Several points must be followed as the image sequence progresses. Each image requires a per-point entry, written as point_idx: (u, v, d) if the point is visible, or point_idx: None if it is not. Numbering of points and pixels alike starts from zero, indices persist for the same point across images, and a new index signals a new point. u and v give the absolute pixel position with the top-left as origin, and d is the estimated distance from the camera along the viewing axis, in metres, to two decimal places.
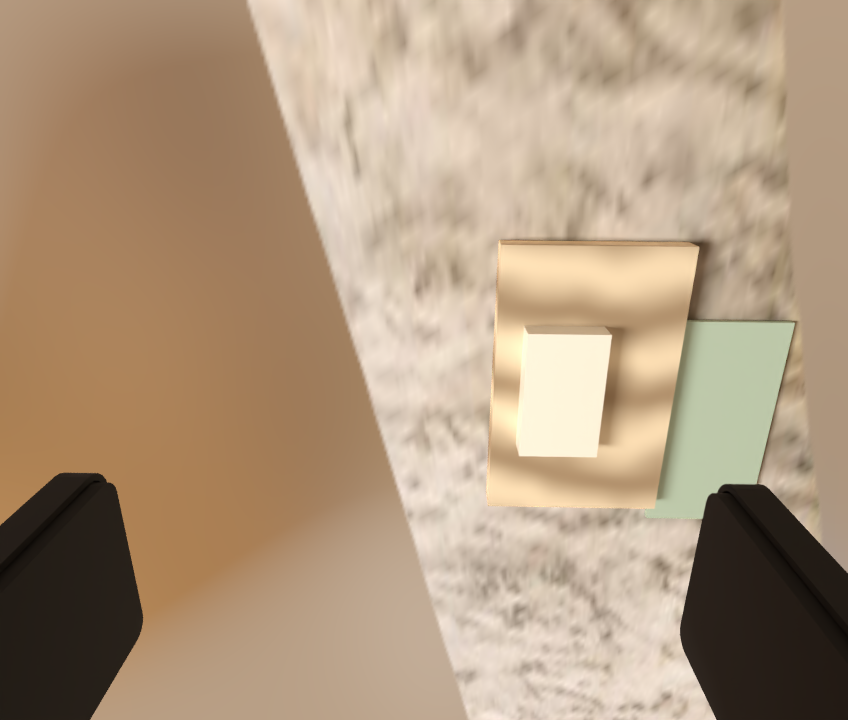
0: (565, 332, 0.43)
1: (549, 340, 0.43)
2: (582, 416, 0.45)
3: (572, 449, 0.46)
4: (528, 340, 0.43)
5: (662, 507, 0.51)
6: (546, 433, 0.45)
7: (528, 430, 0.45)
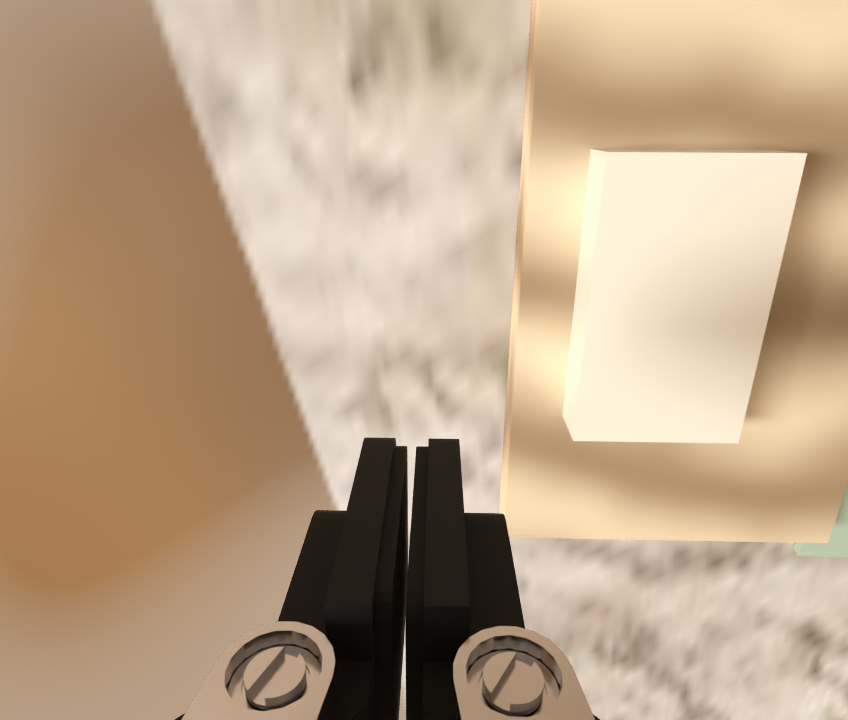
0: (693, 151, 0.18)
1: (657, 168, 0.18)
2: (717, 352, 0.20)
3: (688, 426, 0.21)
4: (607, 168, 0.18)
5: (832, 538, 0.27)
6: (634, 392, 0.21)
7: (595, 385, 0.21)
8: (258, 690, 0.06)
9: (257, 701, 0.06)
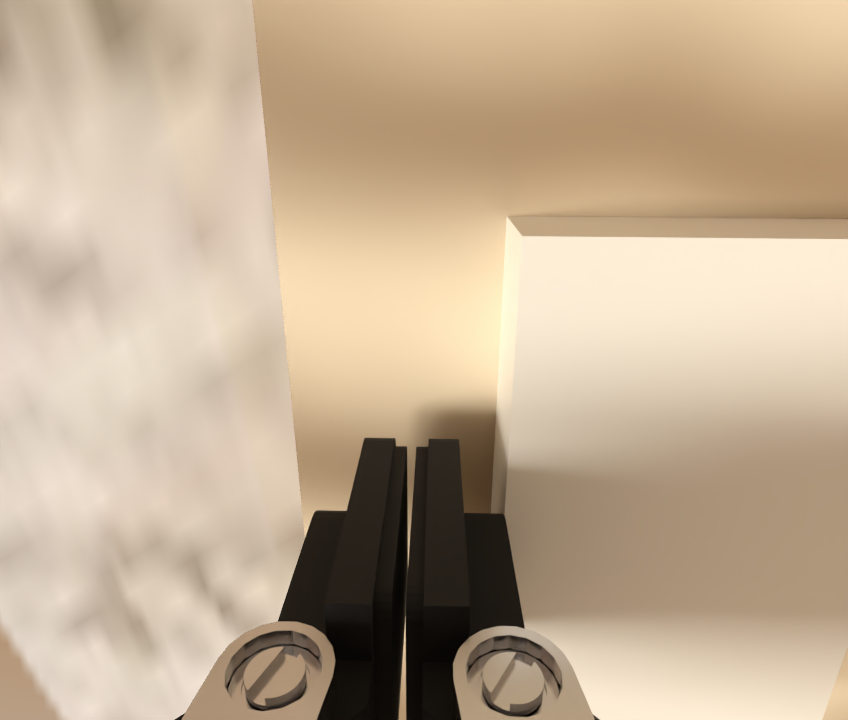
0: (722, 232, 0.08)
1: (640, 272, 0.08)
2: (770, 623, 0.10)
3: None
4: (526, 272, 0.08)
5: None
6: (602, 686, 0.11)
7: None
8: (258, 690, 0.06)
9: (257, 701, 0.06)
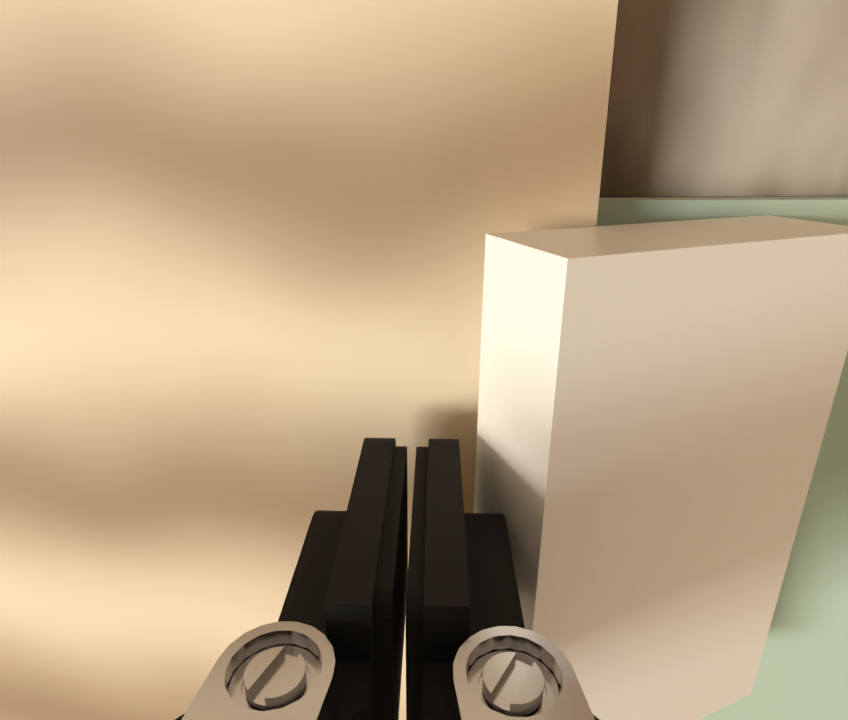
0: (707, 238, 0.09)
1: (664, 284, 0.08)
2: (736, 582, 0.11)
3: (690, 702, 0.12)
4: (569, 297, 0.07)
5: None
6: (614, 692, 0.11)
7: None
8: (258, 690, 0.06)
9: (257, 701, 0.06)
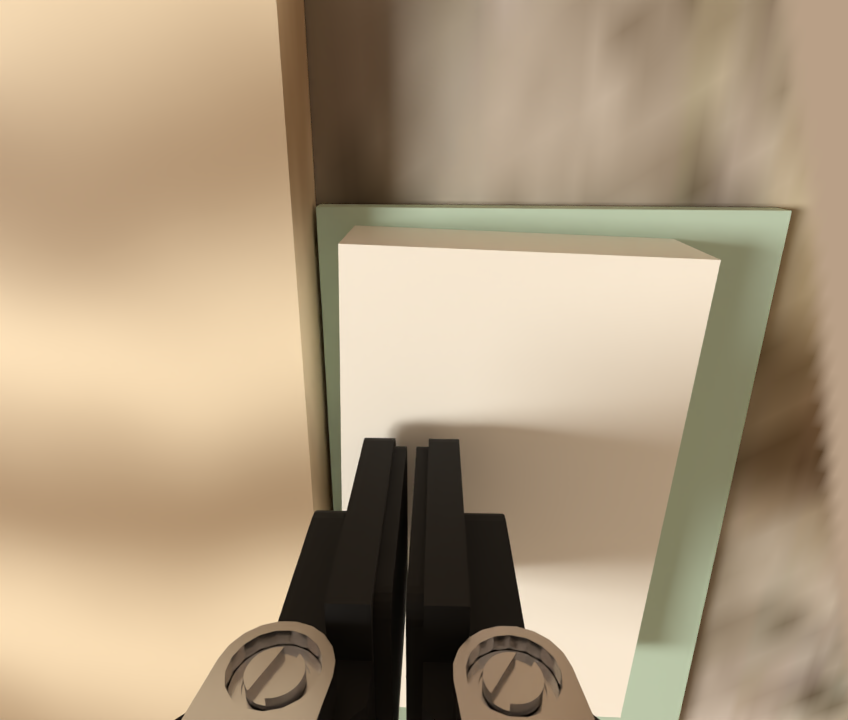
0: (513, 245, 0.10)
1: (439, 276, 0.09)
2: (576, 584, 0.12)
3: None
4: (343, 274, 0.09)
5: None
6: None
7: None
8: (258, 690, 0.06)
9: (257, 701, 0.06)
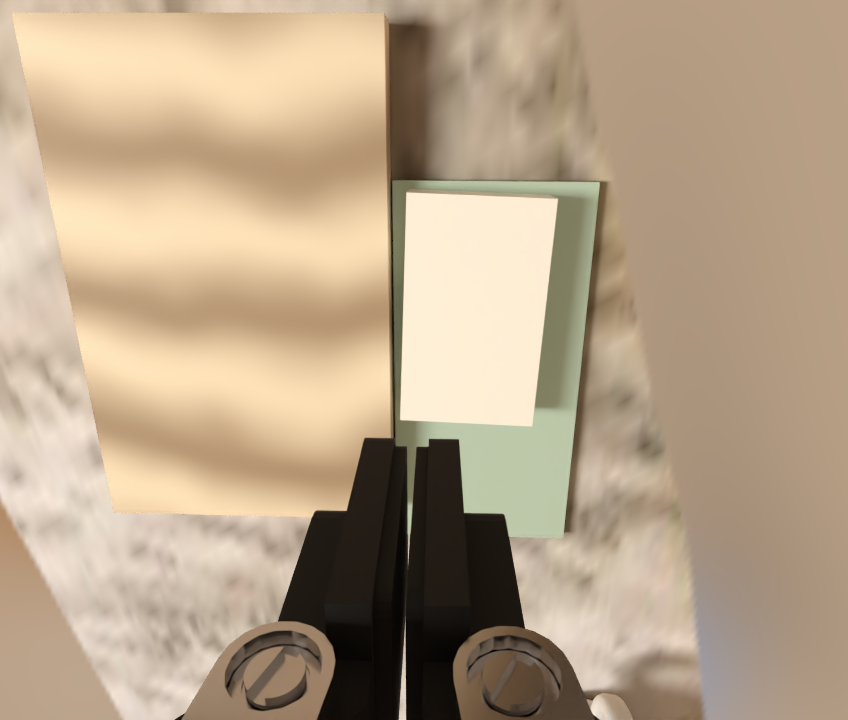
0: (476, 194, 0.24)
1: (446, 206, 0.24)
2: (507, 351, 0.26)
3: (490, 411, 0.27)
4: (408, 205, 0.24)
5: None
6: (444, 381, 0.26)
7: (413, 374, 0.26)
8: (258, 690, 0.06)
9: (257, 701, 0.06)
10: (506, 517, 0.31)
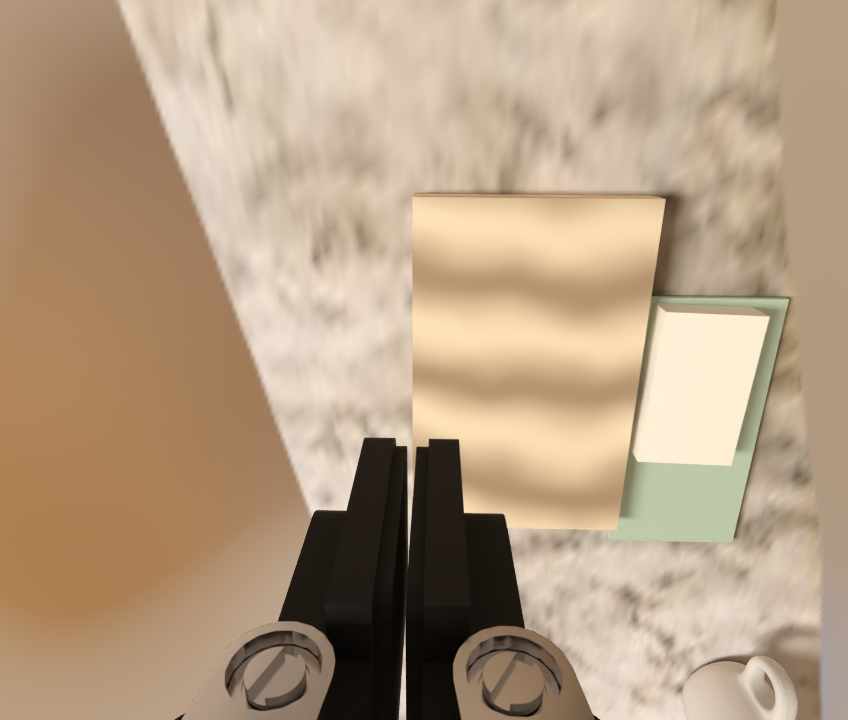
0: (711, 311, 0.35)
1: (692, 320, 0.35)
2: (721, 415, 0.37)
3: (703, 455, 0.38)
4: (666, 320, 0.35)
5: (628, 527, 0.42)
6: (673, 435, 0.37)
7: (652, 431, 0.37)
8: (258, 690, 0.06)
9: (257, 701, 0.06)
10: (692, 527, 0.42)
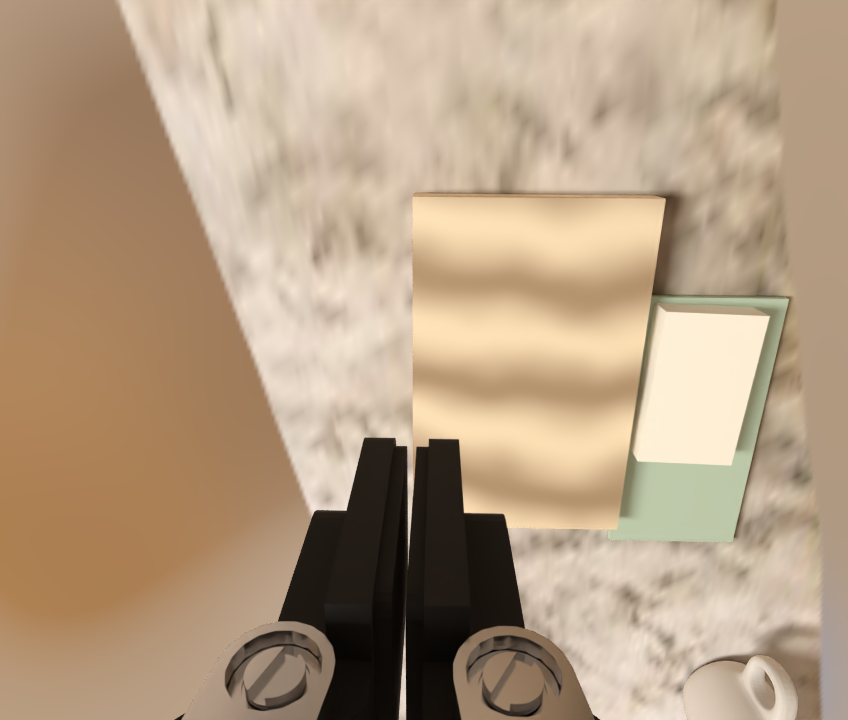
0: (711, 311, 0.35)
1: (692, 320, 0.35)
2: (721, 415, 0.37)
3: (703, 455, 0.38)
4: (666, 319, 0.35)
5: (628, 527, 0.42)
6: (673, 435, 0.37)
7: (652, 430, 0.37)
8: (258, 690, 0.06)
9: (257, 701, 0.06)
10: (692, 527, 0.42)
